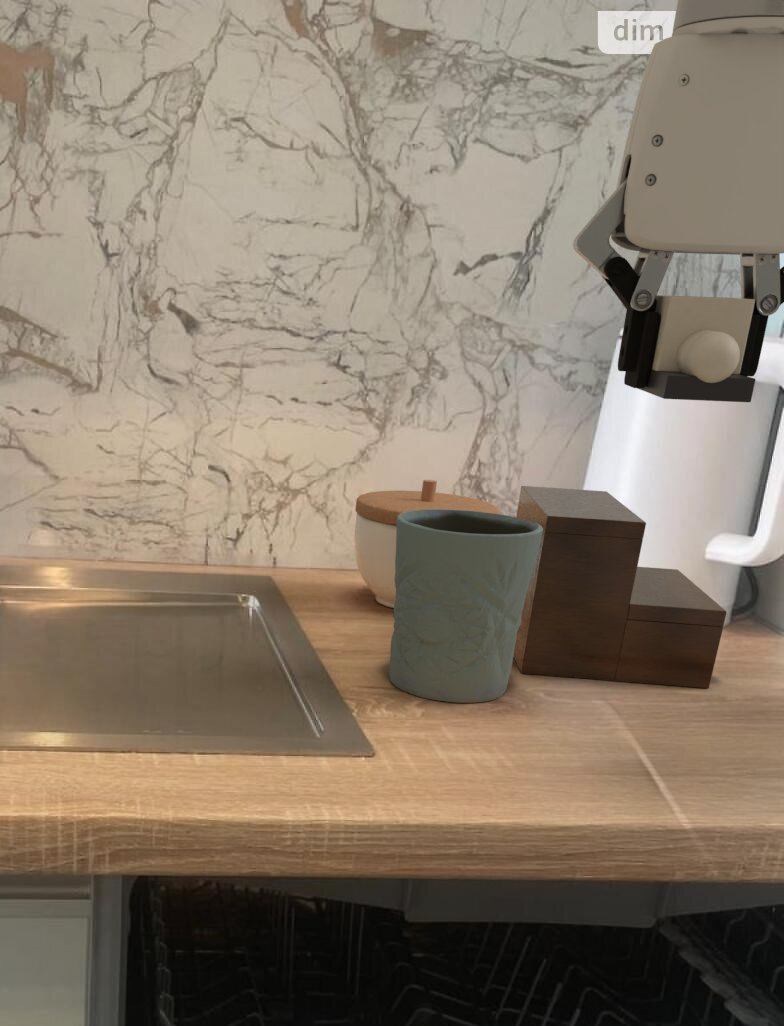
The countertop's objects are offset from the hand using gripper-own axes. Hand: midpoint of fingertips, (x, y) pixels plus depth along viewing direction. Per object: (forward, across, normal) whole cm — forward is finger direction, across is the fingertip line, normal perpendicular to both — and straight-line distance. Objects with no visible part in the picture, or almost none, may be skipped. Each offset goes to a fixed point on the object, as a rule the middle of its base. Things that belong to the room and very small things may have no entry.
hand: (682, 384), depth 68 cm
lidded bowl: (+23, +11, -36) cm, 43 cm away
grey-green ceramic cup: (+23, +10, -11) cm, 27 cm away
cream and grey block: (0, 0, +1) cm, 1 cm away
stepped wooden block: (+23, -3, -22) cm, 32 cm away
